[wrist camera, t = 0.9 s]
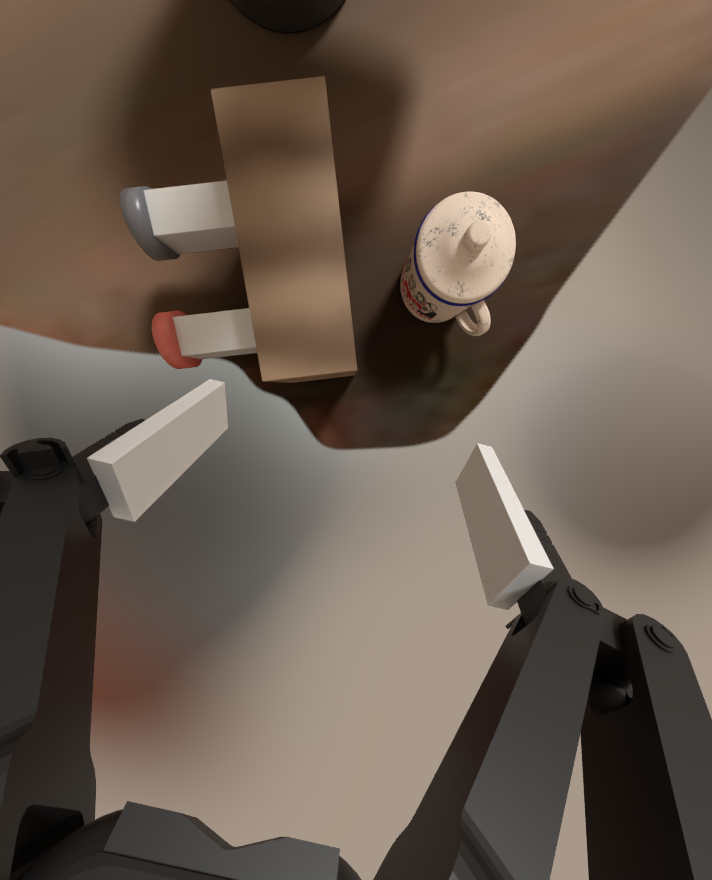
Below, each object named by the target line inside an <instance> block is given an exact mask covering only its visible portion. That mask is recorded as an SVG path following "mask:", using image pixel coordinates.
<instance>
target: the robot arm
mask: <svg viewBox="0 0 712 880" xmlns="http://www.w3.org/2000/svg"><path fill="white" fill-rule="evenodd" d="M231 1H232V2H233V3H234V4H235V5H236V7H237V8H238V9H239V10H240V11H241V12H243V13H244V14H245V15H246V16H247V17H249V18H250V19H251V20H253V21H255V22H256V23H258V24H260V25H262V26H264V27H267V28H269V29H273V30H277V31H283V32H296V31H302V30H306V29H309V28H312V27H314V26H316V25H318V24H320V23H321V22H323V21H324V20H326V19H327V18H328V17H329V16H331V15H332V14H333V13H334V12H335V11H336V10H337V8H338V7H339V6H340V5H341V3H342V2H343V1H344V0H231ZM227 429H228V418H227V403H226V389H225V382H221V381H217V380H213V379H209V380H208V381H206V382H204V383H203V384H201V385H200V386H198V387H197V388H195V389H194V390H192V391H190V392H189V393H187V394H186V395H184V396H183V397H181V398H180V399H178V400H176V401H175V402H173V403H172V404H170V405H169V406H167V407H166V408H164V409H163V410H161V411H159V412H158V413H156V414H155V415H153V416H152V417H150V418H148V419H147V420H144V419H140V420H137V421H134V422H131V423H128V424H126V425H124V426H122V427H121V428H119V429H117V430H116V431H115V432H113V433H111V434H109V435H107V436H106V437H105V439H104V438H103V439H101V440H99V441H98V442H96V443H94V444H93V445H91V446H90V447H88V448H86V449H85V450H83V451H81V452H80V453H78V454H76V455H75V456H73V457H71V454H70V452H69V450H68V448H67V446H66V444H65V442H63V441H61V440H59V439H54V438H38V439H32V440H27V441H24V442H21V443H18V444H15V445H13V446H11V447H9V448H8V449H6V450H4V451H3V453H2V454H1V455H0V457H1V459H2V460H3V461H4V463H5V464H6V466H7V467H8V469H9V470H10V471H0V880H361V879H360V877H359V876H358V874H357V873H356V872H355V871H354V870H353V869H352V867H351V866H350V865H349V864H348V863H347V862H346V861H345V860H344V859H342V858H341V857H340V856H339V852H340V849H339V848H335V847H330V846H326V845H321V844H316V843H312V842H308V841H303V840H299V839H294V838H290V837H278V838H274V839H269V840H265V841H261V842H257V843H252V844H248V845H244V846H239V847H233V846H231V845H229V844H228V843H227V842H226V841H224V840H223V839H222V838H221V837H220V836H218V835H217V834H216V833H215V832H213V831H212V830H211V829H210V828H208V826H206V825H205V824H204V823H203V822H201V821H200V820H199V819H198V818H196V817H192V816H189V815H185V814H182V813H178V812H174V811H169V810H164V809H160V808H156V807H151V806H147V805H142V804H138V803H133V802H129V801H127V803H126V805H125V807H124V809H123V810H119V811H115V812H113V813H110V814H107V815H104V816H102V817H100V818H98V819H96V820H95V801H96V778H95V771H94V766H93V762H92V759H91V754H90V729H91V711H92V693H93V676H94V658H95V639H96V622H97V604H98V586H99V568H100V551H101V532H102V518H101V515H100V513H101V512H102V511H103V510H104V509H106V508H107V507H108V506H109V508H110V510H111V512H112V515H113V517H116V518H120V519H124V520H128V521H133V522H135V521H136V520H137V519H138V518H139V517H140V516H141V515H142V514H143V513H144V512H145V511H146V510H147V509H148V508H149V507H150V506H151V505H152V504H153V503H154V502H155V501H156V500H157V499H158V498H159V497H160V496H161V495H162V494H163V493H164V492H165V491H166V490H167V489H168V488H169V487H170V486H171V485H172V484H173V483H174V482H175V481H176V480H177V479H178V478H179V477H180V476H181V475H182V474H183V473H184V472H185V471H186V470H187V469H188V468H189V467H190V466H191V465H192V464H193V463H194V462H195V461H196V460H197V459H198V458H199V457H200V456H201V455H202V454H203V453H204V452H205V451H206V450H207V449H208V448H209V447H210V446H211V445H212V444H213V443H214V442H215V441H216V440H217V439H218V438H219V437H220V436H221V435H222V434H223V432H225V431H226V430H227ZM456 486H457V490H458V494H459V498H460V502H461V505H462V509H463V513H464V517H465V520H466V524H467V528H468V532H469V536H470V539H471V543H472V547H473V551H474V554H475V558H476V562H477V566H478V569H479V573H480V577H481V581H482V585H483V588H484V592H485V596H486V600H487V604H488V605H489V606H494V607H498V608H503V609H507V610H508V609H510V608H511V607H512V606H513V605H514V604H515V603H516V602H518V605H519V608H520V611H521V613H520V614H519V615H518V616H517V617H515V618H514V619H513V620H512V621H511V622H510V623H508V624H507V625H506V628H507V629H509V628H510V627H511V628H510V630H509V632H508V634H507V636H506V638H505V640H504V642H503V644H502V646H501V648H500V649H499V651H498V654H497V655H496V657H495V659H494V661H493V663H492V665H491V667H490V669H489V671H488V673H487V675H486V677H485V679H484V681H483V683H482V684H481V686H480V689H479V690H478V692H477V694H476V696H475V698H474V700H473V702H472V704H471V706H470V708H469V710H468V712H467V714H466V716H465V718H464V720H463V722H462V723H461V725H460V727H459V729H458V731H457V733H456V735H455V737H454V739H453V741H452V743H451V745H450V747H449V749H448V751H447V753H446V755H445V757H444V759H443V760H442V762H441V764H440V766H439V768H438V770H437V772H436V774H435V776H434V778H433V780H432V782H431V784H430V786H429V788H428V790H427V791H426V794H425V795H424V797H423V799H422V801H421V803H420V805H419V807H418V809H417V811H416V813H415V815H414V816H413V818H412V820H411V822H410V823H409V825H408V826H407V827H406V828H405V830H404V831H403V832H402V833H401V834H400V835H399V837H398V838H397V839H396V841H395V842H394V843H393V845H392V846H391V848H390V850H389V852H388V854H387V855H386V857H385V859H384V860H383V862H382V864H381V866H380V868H379V870H378V872H377V874H376V876H375V878H374V879H373V880H550V875H551V870H552V865H553V861H554V856H555V851H556V846H557V842H558V837H559V832H560V827H561V823H562V818H563V813H564V808H565V804H566V799H567V794H568V789H569V784H570V780H571V775H572V770H573V766H574V760H575V756H576V751H577V746H578V742H579V737H580V732H581V746H582V747H581V748H582V766H583V783H584V798H585V799H584V801H585V817H586V836H587V853H588V870H589V880H712V719H711V717H710V713H709V711H708V708H707V705H706V703H705V700H704V697H703V695H702V692H701V689H700V686H699V684H698V681H697V678H696V676H695V673H694V670H693V668H692V665H691V662H690V660H689V657H688V654H687V653H686V651H685V649H684V647H683V645H682V644H681V643H680V642H679V640H678V639H677V638H676V637H675V636H674V634H673V633H671V632H670V631H669V630H668V629H667V628H666V627H664V626H663V625H662V624H660V623H659V622H658V621H656V620H655V619H653V618H651V617H649V616H646V615H643V614H636V615H634V616H633V617H631V618H629V619H628V620H627V619H625V618H623V617H621V616H619V615H617V614H615V613H613V612H611V611H609V610H607V609H605V608H603V607H602V604H601V602H600V601H599V600H598V598H597V597H596V596H595V595H594V593H593V592H592V591H590V590H589V589H588V588H587V587H586V586H585V585H583V584H581V583H579V582H578V581H576V580H574V579H572V578H571V576H570V574H569V573H568V571H567V569H566V567H565V565H564V563H563V562H562V560H561V558H560V556H559V554H558V553H557V551H556V549H555V547H554V545H552V542H551V540H550V538H549V536H548V535H547V533H546V531H545V529H544V527H543V525H542V523H541V522H540V521H539V520H538V519H537V518H536V516H535V515H534V514H533V513H532V512H531V511H527V510H524V509H523V508H522V506H521V503H520V501H519V500H518V498H517V496H516V494H515V492H514V490H513V488H512V486H511V484H510V482H509V480H508V478H507V476H506V474H505V472H504V470H503V468H502V466H501V464H500V462H499V460H498V458H497V456H496V454H495V452H494V450H493V448H492V447H490V446H486V445H481V444H477V445H476V447H475V448H474V450H473V452H472V454H471V456H470V457H469V459H468V461H467V463H466V465H465V467H464V468H463V470H462V472H461V473H460V475H459V477H458V479H457V481H456Z"/></svg>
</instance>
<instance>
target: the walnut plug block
mask: <svg viewBox="0 0 712 880" xmlns="http://www.w3.org/2000/svg"><path fill="white" fill-rule="evenodd" d="M211 94H212V100H213V106H214V111H215V117H216V123H217V128H218V134H219V140H220V145H221V151H222V156H223V162H224V168H225V173H226V179H227V185H228V190H229V196H230V202H231V207H232V213H233V219H234V224H235V230H236V235H237V241H238V247H239V252H240V258H241V264H242V269H243V275H244V281H245V286H246V292H247V297H248V303H249V309H250V314H251V320H252V326H253V331H254V337H255V343H256V348H257V354H258V359H259V365H260V371H261V376H262V381H267V382H285V383H295V382H304V381H312V380H321V379H329V378H338V377H346V376H355V374H356V372H357V363H356V354H355V345H354V336H353V327H352V318H351V308H350V299H349V290H348V281H347V272H346V263H345V254H344V245H343V236H342V227H341V218H340V209H339V200H338V191H337V182H336V173H335V164H334V154H333V145H332V136H331V127H330V118H329V109H328V100H327V91H326V82H325V76H320V77H311V78H302V79H294V80H285V81H276V82H268V83H259V84H250V85H242V86H233V87H224V88H216V89H211Z"/></svg>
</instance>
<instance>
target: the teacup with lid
mask: <svg viewBox="0 0 712 880" xmlns="http://www.w3.org/2000/svg"><path fill="white" fill-rule="evenodd" d="M515 246H516V240H515V231H514V227H513V224H512V221H511V219H510V217H509V215H508V213H507V212H506V210H505V209H504V208H503V207H502V205H501V204H500V203H498V202H497V201H496V200H495V199H493V198H492V197H490V196H488V195H485V194H482V193H478V192H462V193H457V194H454V195H452V196H449V197H447V198H446V199H444V200H442V201H441V202H439V203H438V204H437V205H436V206H434V207H433V208H432V209H431V210H430V211H429V213H428V214H427V215H426V216H425V218H424V220H423V221H422V223H421V225H420V227H419V229H418V232H417V235H416V238H415V243H414V246H413V249H412V251H411V253H410V255H409V257H408V260H407V262H406V264H405V266H404V268H403V271H402V275H401V281H400V290H401V296H402V299H403V302H404V304H405V306H406V307H407V309H408V310H409V311H410V312H411V313H412V314H413V315H414V316H415V317H417V318H418V319H420V320H422V321H425V322H430V323H439V322H444V321H447V320H449V319H451V318H453V317H454V316H455V317H456V319H457V321H458V323H459V325H460V326H461V327H462V329H463V330H464V331H465V332H467V333H468V334H470V335H472V336H479V335H482V334H483V333H485V332H486V331H487V330H488V329H489V327H490V314H489V311H488V308H487V306H486V304H485V302H484V300H485V299H486V298H488V297H489V296H491V295H492V294H493V293H494V292H495V291H496V290H497V289H498V288H499V287H500V286H501V284H502V283H503V282H504V280H505V278H506V277H507V275H508V273H509V271H510V269H511V266H512V263H513V260H514V255H515ZM470 306H471V307H472V309H473V312H474V314H475V316H476V319H477V322H478V325H476V324H475V323H473V322H472V320H471V319H470V318H469V316H468V314H467V312H466V310H465V309H467V308H468V307H470Z"/></svg>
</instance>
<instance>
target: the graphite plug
mask: <svg viewBox="0 0 712 880" xmlns="http://www.w3.org/2000/svg"><path fill="white" fill-rule="evenodd" d="M120 204H121V209H122V212H123V215H124V218H125V221H126V223H127V225H128V227H129V230H130V231H131V233H132V235H133V237H134V238H135V240H136V241H137V243H138V244H139V246H140V247H141V248H142V249H143V251H144V252H145V253H146V254H147V255H148V256H150V257H151V258H152V259H154V260H157V261H161V260H170V259H177V258H179V256H180V254H185V253H193V252H202V251H210V250H219V249H228V248H236V247H238V241H237V235H236V230H235V224H234V219H233V213H232V207H231V202H230V196H229V190H228V185H227V181H218V182H210V183H201V184H192V185H184V186H175V187H166V188H158V189H151V188H149V187H147V186H140V187H132V188H124V189H123V190H122V191H121V193H120Z"/></svg>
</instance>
